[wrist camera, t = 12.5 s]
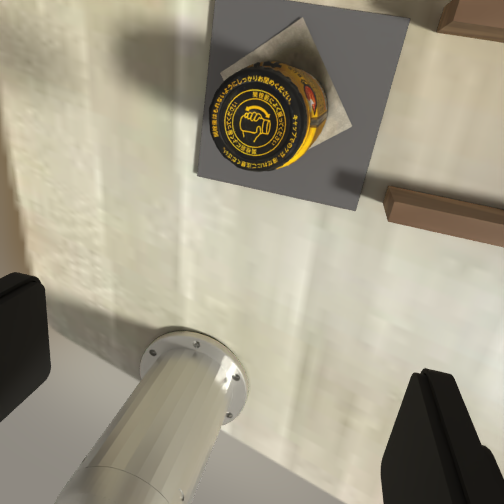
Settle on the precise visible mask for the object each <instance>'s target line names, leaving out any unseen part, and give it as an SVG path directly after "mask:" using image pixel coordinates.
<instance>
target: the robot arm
mask: <svg viewBox="0 0 504 504" xmlns="http://www.w3.org/2000/svg"><path fill="white" fill-rule="evenodd" d="M50 370H51V362H50V350H49V336H48V323H47V310H46V296H45V288H44V286H43V285H42V284H41V282H40V280H39V278H37V277H35V276H30V275H26V274H22V273H17V272H14V273H10V274H8V275H6V276H4V277H2V278H0V422H1V421H2V420H3V419H4V418H6V417H7V416H8V415H9V414H10V413H11V412H12V411H13V410H14V409H15V408H16V407H17V406H18V405H19V404H21V403H22V402H23V401H24V400H25V399H26V398H27V397H28V396H29V395H30V394H32V393H33V392H34V391H35V390H36V389H37V388H38V387H39V386H40V385H41V384H42V383H43V382H44V381H45V380H46V379H47V377H48V376H49V373H50ZM140 378H141V381H140V383H139V384H138V386H137V387H136V388H135V390H134V391H133V393H132V394H131V395H130V397H129V398H128V399H127V401H126V402H125V403H124V405H123V406H122V408H121V409H120V410H119V412H118V413H117V415H116V416H115V417H114V419H113V420H112V422H111V423H110V424H109V426H108V427H107V428H106V430H105V431H104V433H103V434H102V435H101V437H100V438H99V439H98V441H97V442H96V443H95V445H94V446H93V448H92V449H91V451H90V452H89V453H88V455H87V456H86V457H85V459H84V460H83V461H82V463H81V464H80V466H79V467H78V468H77V470H76V471H75V472H74V474H73V476H72V477H71V478H70V480H69V481H68V482H67V484H66V485H65V487H64V488H63V489H62V491H61V492H60V494H59V496H58V497H57V499H56V501H55V504H191V503H192V500H193V497H194V496H195V493H196V490H197V488H198V485H199V483H200V480H201V477H202V475H203V472H204V470H205V467H206V465H207V462H208V459H209V457H210V454H211V452H212V449H213V446H214V444H215V441H216V438H217V436H218V434H219V431H220V428H221V426H222V425H225V424H227V423H229V422H231V421H233V420H234V419H235V418H236V417H237V416H239V414H240V413H241V411H242V410H243V408H244V406H245V403H246V401H247V397H248V392H249V387H248V379H247V375H246V372H245V370H244V368H243V366H242V364H241V363H240V362H239V360H238V359H237V357H236V356H235V355H234V354H233V353H232V352H231V351H230V350H229V349H228V348H227V347H225V346H224V345H222V344H221V343H220V342H218V341H216V340H214V339H212V338H210V337H208V336H205V335H202V334H199V333H195V332H189V331H176V332H171V333H167V334H165V335H162V336H160V337H158V338H157V339H156V340H154V341H153V342H152V343H151V344H150V346H149V347H148V348H147V349H146V351H145V352H144V354H143V356H142V359H141V362H140ZM381 482H382V492H383V502H384V504H504V479H503V476H502V474H501V472H500V469H499V467H498V465H497V463H496V460H495V458H494V456H493V454H492V452H491V451H490V449H488V448H487V447H486V446H483V445H481V443H480V440H479V438H478V435H477V433H476V430H475V428H474V425H473V423H472V421H471V418H470V416H469V413H468V411H467V408H466V406H465V403H464V401H463V399H462V396H461V394H460V391H459V389H458V386H457V384H456V381H455V379H454V377H453V376H452V375H451V374H448V373H443V372H439V371H435V370H431V369H426V368H425V369H423V370H422V371H421V373H420V374H419V373H413V374H412V376H411V378H410V381H409V384H408V387H407V390H406V392H405V395H404V398H403V401H402V404H401V407H400V410H399V412H398V415H397V418H396V421H395V424H394V427H393V429H392V432H391V435H390V438H389V441H388V444H387V446H386V449H385V452H384V455H383V458H382V463H381Z"/></svg>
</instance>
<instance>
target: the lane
mask: <svg viewBox="0 0 504 504" xmlns="http://www.w3.org/2000/svg"><path fill="white" fill-rule="evenodd" d="M437 33H443V34H450V35H457V36H463V37H470V38H477V39H483V40H490V41H497V42H503V43H504V0H452V1H451V2H450V3H449V4H447V5H446V6H445V7H444V9H443V12H442V16H441V19H440V22H439V25H438V28H437ZM383 205H384V209H385V212H386V216H387V220H388V222H393V223H397V224H402V225H406V226H411V227H415V228H420V229H424V230H429V231H433V232H438V233H442V234H447V235H451V236H455V237H460V238H464V239H469V240H473V241H478V242H482V243H487V244H491V245H496V246H500V247H504V210H503V209H498V208H493V207H488V206H484V205H479V204H474V203H469V202H464V201H460V200H455V199H450V198H445V197H441V196H436V195H431V194H426V193H421V192H417V191H412V190H407V189H402V188H398V187H393V186H388V189H387V192H386V195H385V198H384V201H383Z"/></svg>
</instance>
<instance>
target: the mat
mask: <svg viewBox="0 0 504 504" xmlns="http://www.w3.org/2000/svg"><path fill="white" fill-rule="evenodd" d="M302 17H303V19H304V21H305V23H306V25H307V28H308V30H309V32H310V34H311V36H312V39H313V41H314V43H315V45H316V47H317V50H318V52H319V54H320V56H321V58H322V61H323V63H324V65H325V67H326V69H327V72H328V74H329V76H330V78H331V80H332V83H333V85H334V87H335V89H336V91H337V94H338V96H339V98H340V100H341V102H342V105H343V107H344V109H345V111H346V114H347V116H348V118H349V120H350V122H351V125H352V127H350V128H348V129H347V130H345V131H343V132H341V133H339V134H337V135H335V136H333V137H331V138H329V139H327V140H325V141H323V142H322V143H320V144H318V145H316V146H314V147H312V148H310V149H308V150H307V151H306V153H305V154H304V155H303V156H302V157H300V158H299V159H298V160H297V161H295V162H294V163H292V164H290V165H288V166H285V167H282V168H279V169H275V170H272V171H263V172H253V171H247V170H243V169H240V168H238V167H236V166H235V165H234V164H232V163H231V162H230V161H229V160H227V159H225V158H224V157H223V156H222V154H221V153H220V151H219V150H218V148H217V147H216V145H215V143H214V141H213V139H212V136H211V133H210V125H209V107H210V104H211V102H212V99H213V97H214V94H215V92H216V90H217V89H218V88H219V87H220V85H221V84H222V83H223V81H224V80H223V78H222V76H221V74H220V73H221V72H222V71H224V70H225V69H227V68H228V67H230V66H231V65H233V64H235V63H236V62H237V61H239V60H240V59H242V58H243V57H245V56H246V55H248V54H249V53H251V52H253V51H254V50H255V49H257V48H258V47H260V46H261V45H263V44H264V43H266V42H267V41H269V40H270V39H272V38H273V37H275V36H276V35H278V34H279V33H281V32H282V31H284V30H285V29H286V28H288V27H290V26H291V25H292V24H294V23H295V22H296V21H298V20H299V19H301V18H302ZM409 22H410V18H404V17H397V16H390V15H383V14H376V13H369V12H363V11H356V10H349V9H342V8H335V7H328V6H321V5H315V4H308V3H301V2H294V1H287V0H215V8H214V18H213V27H212V37H211V47H210V56H209V66H208V76H207V86H206V95H205V105H204V115H203V125H202V134H201V144H200V154H199V164H198V173H197V176H199V177H204V178H208V179H213V180H217V181H222V182H226V183H231V184H235V185H240V186H244V187H249V188H253V189H258V190H262V191H267V192H271V193H276V194H280V195H285V196H289V197H294V198H298V199H303V200H307V201H312V202H316V203H321V204H325V205H330V206H334V207H339V208H343V209H348V210H352V211H356V208H357V205H358V201H359V198H360V194H361V190H362V187H363V183H364V180H365V176H366V173H367V169H368V166H369V162H370V159H371V155H372V152H373V148H374V145H375V141H376V138H377V134H378V131H379V127H380V124H381V120H382V117H383V113H384V110H385V106H386V103H387V99H388V96H389V92H390V89H391V85H392V81H393V78H394V74H395V71H396V67H397V64H398V60H399V57H400V53H401V50H402V46H403V43H404V39H405V36H406V32H407V29H408V25H409Z"/></svg>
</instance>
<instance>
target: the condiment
mask: <svg viewBox="0 0 504 504" xmlns="http://www.w3.org/2000/svg"><path fill="white" fill-rule="evenodd" d="M220 74H221V76H222V78H223V80H224V81H223V83H222V84H221V85H220V87H219V88H218V89H217V90H216V92H215V94H214V97H213V99H212V102H211V104H210V107H209V125H210V133H211V136H212V139H213V141H214V143H215V145H216V147H217V148H218V150H219V151H220V153H221V154H222V156H223V157H224V158H225V159H227V160H229V161H230V162H231V163H232V164H234V165H235V166H236V167H238V168H240V169H243V170H247V171H253V172H263V171H272V170H275V169H279V168H282V167H285V166H288V165H290V164H292V163H294V162H295V161H297V160H298V159H299V158H300V157H302V156H303V155H304V154H305V153H306V151H307V150H308V149H310V148H312V147H314V146H316V145H318V144H320V143H322V142H323V141H325V140H327V139H329V138H331V137H333V136H335V135H337V134H339V133H341V132H343V131H345V130H347V129H348V128H350V127H352V125H351V122H350V120H349V118H348V116H347V114H346V111H345V109H344V107H343V105H342V102H341V100H340V98H339V96H338V94H337V91H336V89H335V87H334V85H333V83H332V80H331V78H330V76H329V74H328V72H327V69H326V67H325V65H324V63H323V61H322V58H321V56H320V54H319V52H318V50H317V47H316V45H315V43H314V41H313V39H312V36H311V34H310V32H309V30H308V28H307V25H306V23H305V21H304V19H303V17H302V18H301V19H299V20H298V21H296V22H295V23H294V24H292V25H291V26H290V27H288V28H286V29H285V30H284V31H282V32H281V33H279V34H278V35H276V36H275V37H273V38H272V39H270V40H269V41H267V42H266V43H264V44H263V45H261V46H260V47H258V48H257V49H255V50H254V51H253V52H251V53H249V54H248V55H246V56H245V57H243V58H242V59H240V60H239V61H237V62H236V63H235V64H233V65H231V66H230V67H228V68H227V69H225V70H224V71H222V72H221V73H220Z"/></svg>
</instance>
